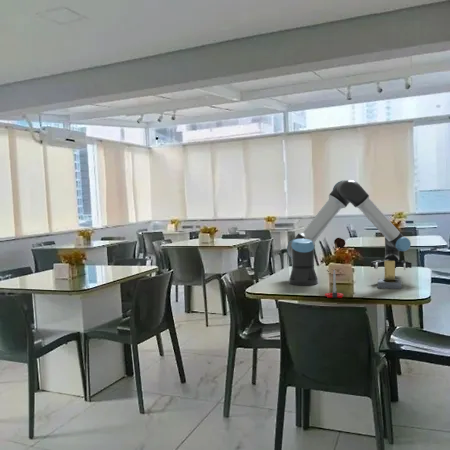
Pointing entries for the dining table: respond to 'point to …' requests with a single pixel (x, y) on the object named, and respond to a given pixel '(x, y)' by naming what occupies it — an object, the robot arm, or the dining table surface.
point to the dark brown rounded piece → (339, 242)
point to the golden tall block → (389, 270)
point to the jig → (389, 284)
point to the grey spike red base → (334, 289)
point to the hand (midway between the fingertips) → (390, 267)
